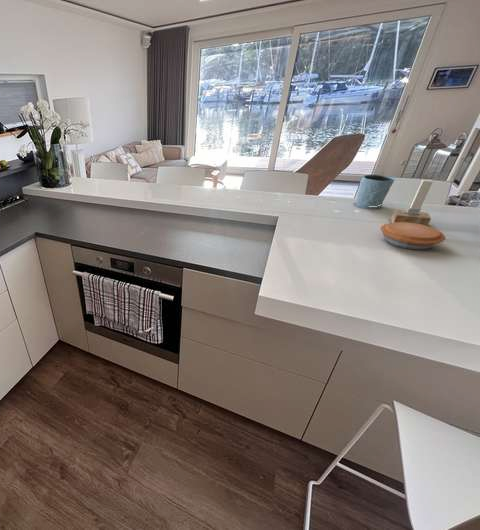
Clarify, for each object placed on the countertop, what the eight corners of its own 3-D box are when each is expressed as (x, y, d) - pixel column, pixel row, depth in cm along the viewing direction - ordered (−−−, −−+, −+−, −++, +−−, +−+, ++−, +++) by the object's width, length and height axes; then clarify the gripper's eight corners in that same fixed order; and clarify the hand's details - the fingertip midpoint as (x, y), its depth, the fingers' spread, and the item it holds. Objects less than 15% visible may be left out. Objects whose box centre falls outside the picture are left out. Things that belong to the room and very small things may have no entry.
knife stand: (423, 223, 105) (428, 212, 103) (426, 229, 101) (431, 218, 99) (390, 219, 109) (395, 209, 107) (392, 225, 105) (396, 215, 103)
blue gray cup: (352, 200, 129) (361, 173, 123) (381, 202, 124) (392, 174, 118) (354, 208, 122) (364, 179, 116) (385, 210, 117) (397, 181, 111)
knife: (412, 223, 105) (433, 180, 97) (413, 225, 104) (434, 181, 96) (402, 222, 107) (421, 179, 98) (402, 224, 105) (422, 180, 97)
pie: (369, 231, 103) (374, 218, 100) (424, 233, 98) (431, 220, 95) (387, 250, 91) (393, 236, 88) (451, 255, 86) (460, 240, 83)
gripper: (523, 183, 92) (461, 181, 99) (555, 203, 78) (480, 198, 85) (511, 202, 95) (452, 198, 103) (539, 224, 81) (469, 218, 88)
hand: (465, 198), depth 94 cm, fingers open, 8 cm apart
